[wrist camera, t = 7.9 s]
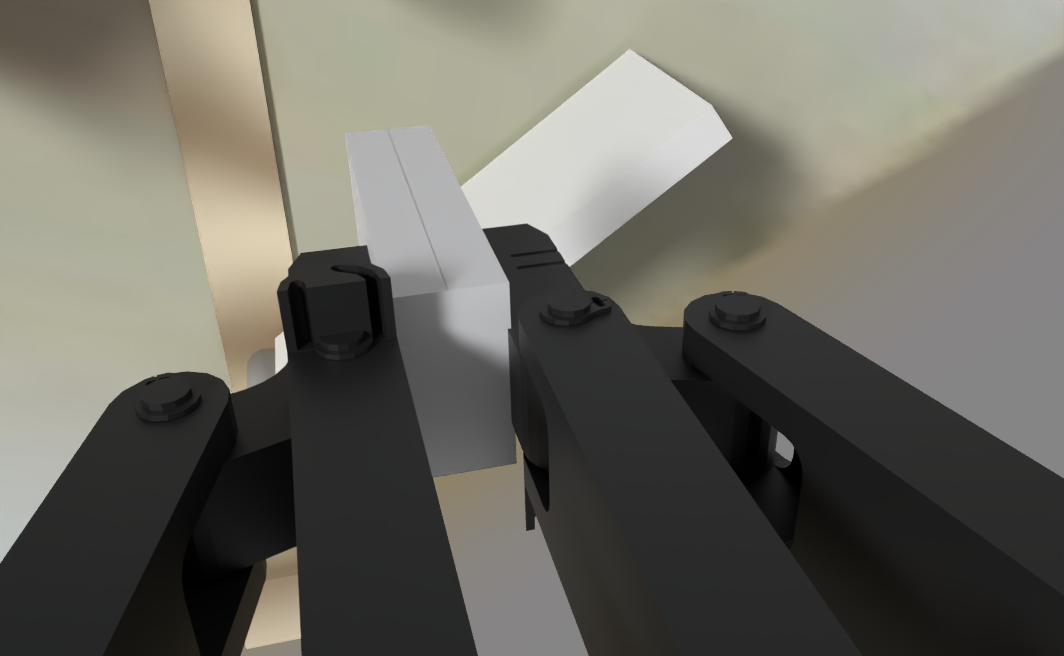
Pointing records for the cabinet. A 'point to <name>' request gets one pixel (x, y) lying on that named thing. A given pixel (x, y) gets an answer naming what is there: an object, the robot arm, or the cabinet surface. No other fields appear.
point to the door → (585, 166)
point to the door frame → (233, 212)
